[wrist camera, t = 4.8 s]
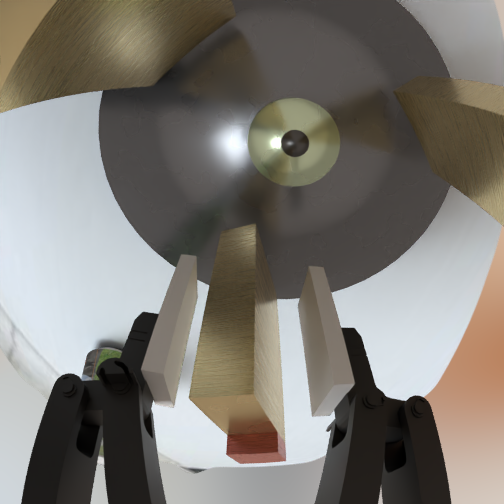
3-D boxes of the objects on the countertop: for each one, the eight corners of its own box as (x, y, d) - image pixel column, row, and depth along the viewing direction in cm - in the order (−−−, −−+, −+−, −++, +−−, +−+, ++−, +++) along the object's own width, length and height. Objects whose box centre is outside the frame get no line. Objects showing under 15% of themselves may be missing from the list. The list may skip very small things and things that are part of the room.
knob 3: (392, 91, 10) (582, 151, 2) (418, 75, 9) (601, 122, 1) (432, 172, 12) (566, 293, 4) (454, 156, 11) (591, 261, 3)
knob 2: (221, 231, 14) (184, 423, 6) (255, 223, 14) (253, 421, 6) (246, 299, 17) (240, 463, 8) (276, 293, 16) (286, 460, 8)
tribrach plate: (64, 131, 13) (35, 143, 10) (311, -70, 6) (321, -93, 4) (258, 318, 21) (258, 348, 18) (473, 180, 14) (498, 198, 12)
